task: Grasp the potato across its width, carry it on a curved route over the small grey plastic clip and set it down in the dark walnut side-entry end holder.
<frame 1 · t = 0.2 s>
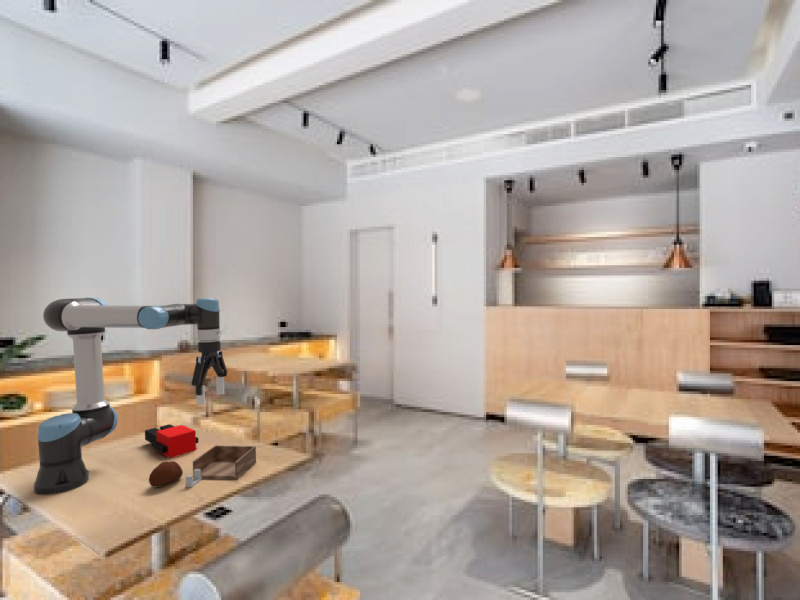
hand: (211, 398, 159), 27 cm above the table, fingers open, 13 cm apart
holder: (223, 472, 160), on the table
red-and-black block model: (170, 447, 186), on the table
clip: (193, 483, 151), on the table
potato: (167, 484, 151), on the table
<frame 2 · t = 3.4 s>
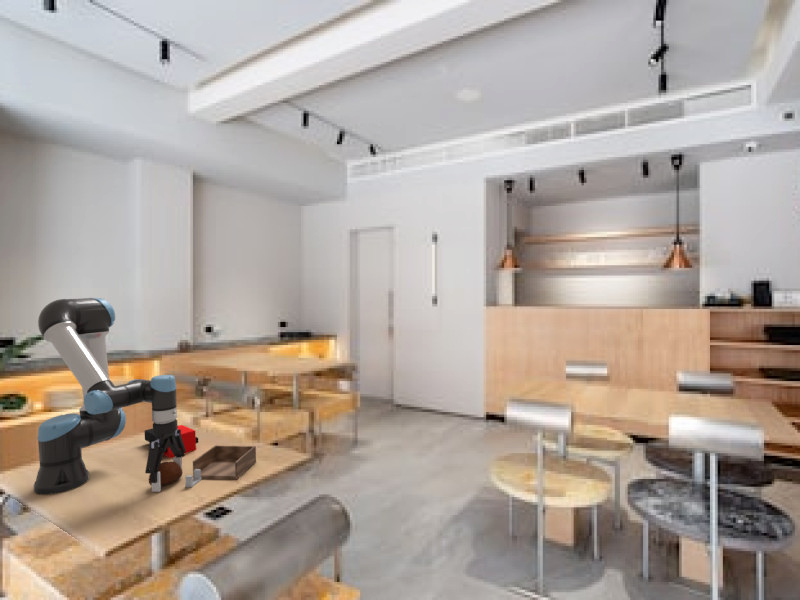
hand: (167, 483, 151), 0 cm above the table, fingers open, 11 cm apart
potato: (167, 484, 151), on the table, touching gripper
everything else where it was.
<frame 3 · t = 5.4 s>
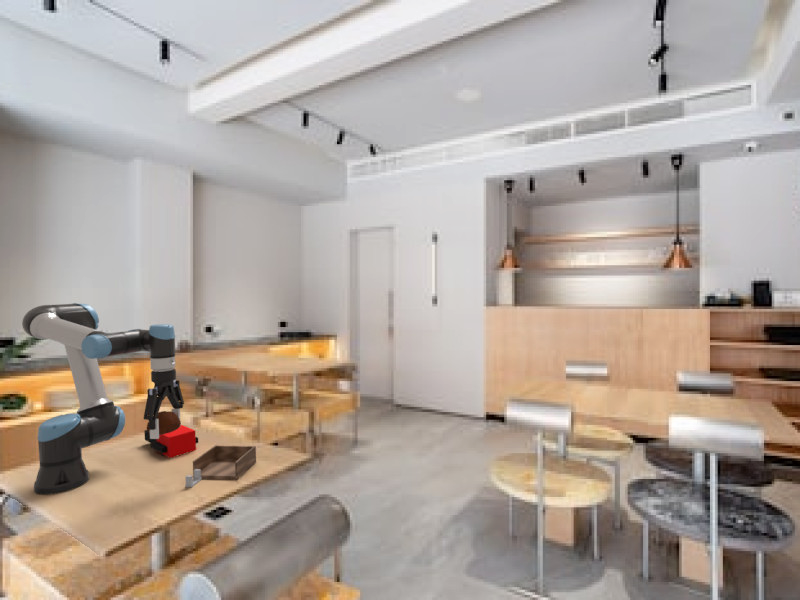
hand: (165, 432, 151), 18 cm above the table, fingers closed on potato, 11 cm apart
potato: (165, 434, 150), point 17 cm above the table, touching gripper
everything else where it was.
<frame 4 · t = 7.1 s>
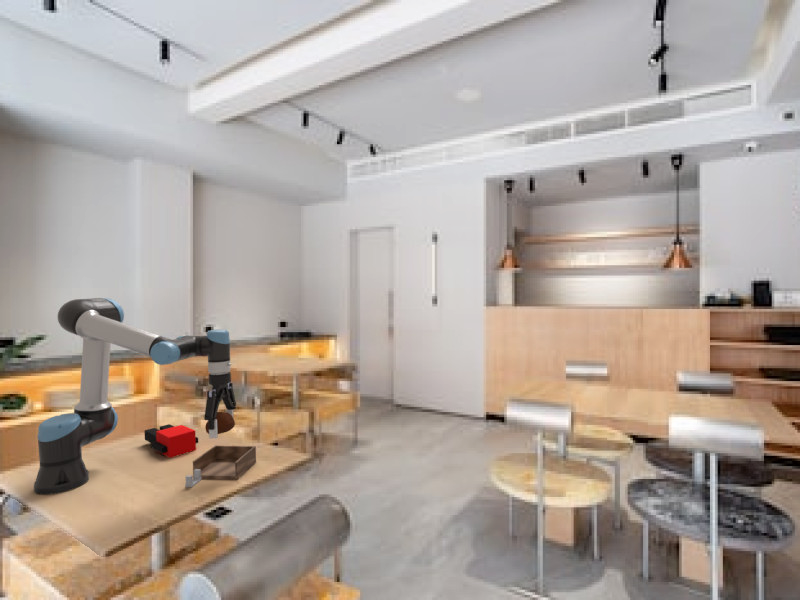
hand: (221, 432, 159), 15 cm above the table, fingers closed on potato, 11 cm apart
potato: (221, 433, 159), point 14 cm above the table, touching gripper
everything else where it was.
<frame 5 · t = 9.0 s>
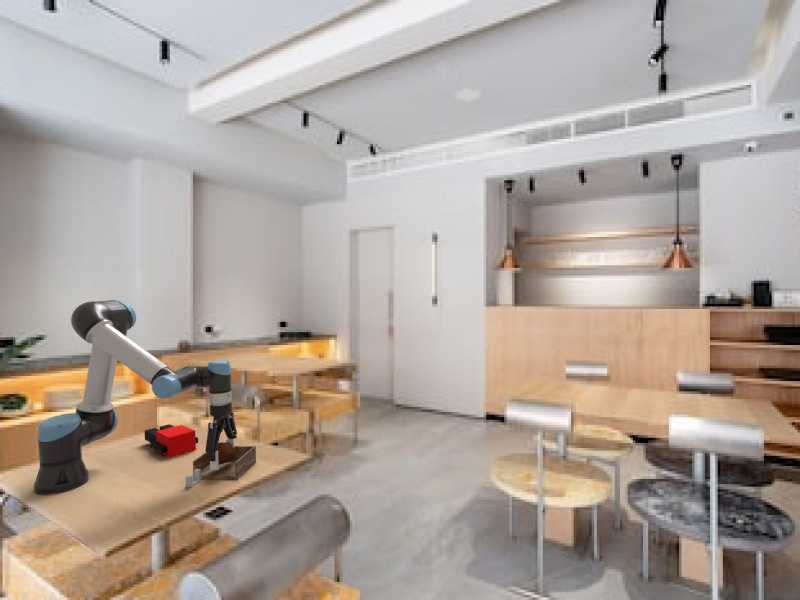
hand: (222, 462, 159), 4 cm above the table, fingers closed on potato, 11 cm apart
potato: (222, 464, 159), point 3 cm above the table, touching gripper
everything else where it was.
when the fingers open (3 cm above the table, at t = 10.0 s): potato drops 2 cm, resting on holder.
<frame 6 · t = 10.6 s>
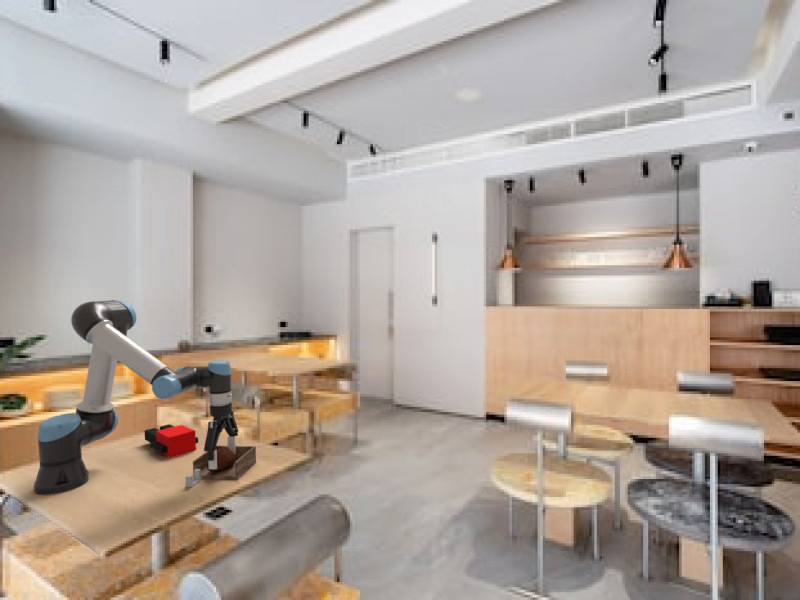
hand: (222, 461, 159), 4 cm above the table, fingers open, 13 cm apart
potato: (222, 470, 159), point 1 cm above the table, touching holder
everything else where it was.
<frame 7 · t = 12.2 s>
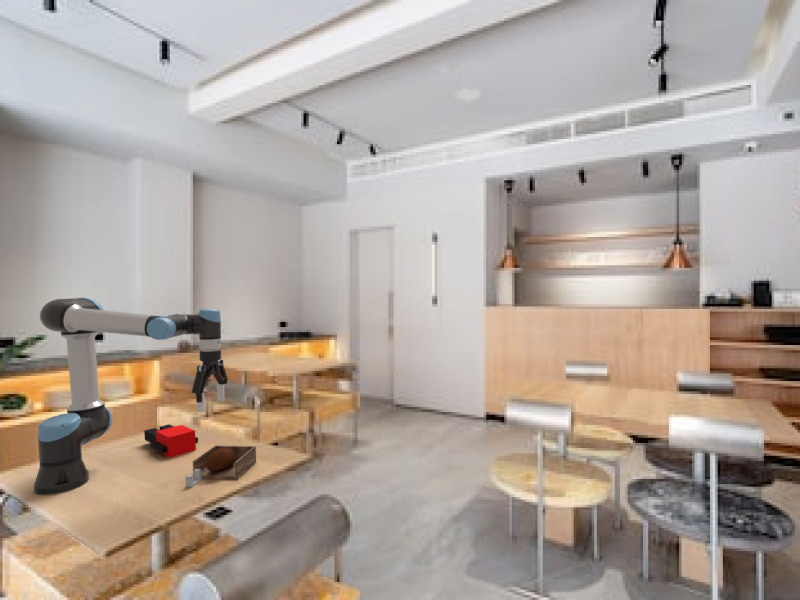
hand: (211, 405, 165), 23 cm above the table, fingers open, 13 cm apart
nothing on the table moved.
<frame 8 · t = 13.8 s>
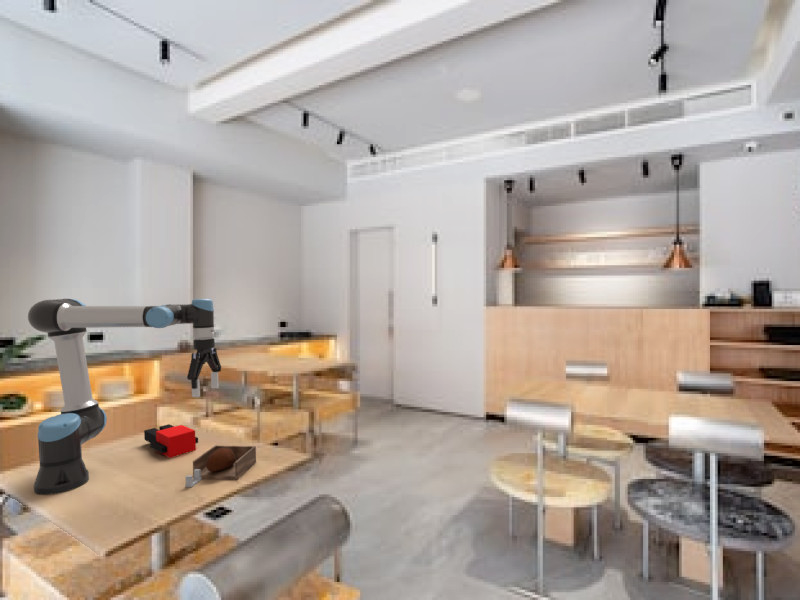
hand: (205, 392, 171), 27 cm above the table, fingers open, 13 cm apart
nothing on the table moved.
at the end: potato inside the target area on the holder (0.3 cm from its centre), point 1.0 cm above the holder's base; the gripper is holding nothing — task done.
